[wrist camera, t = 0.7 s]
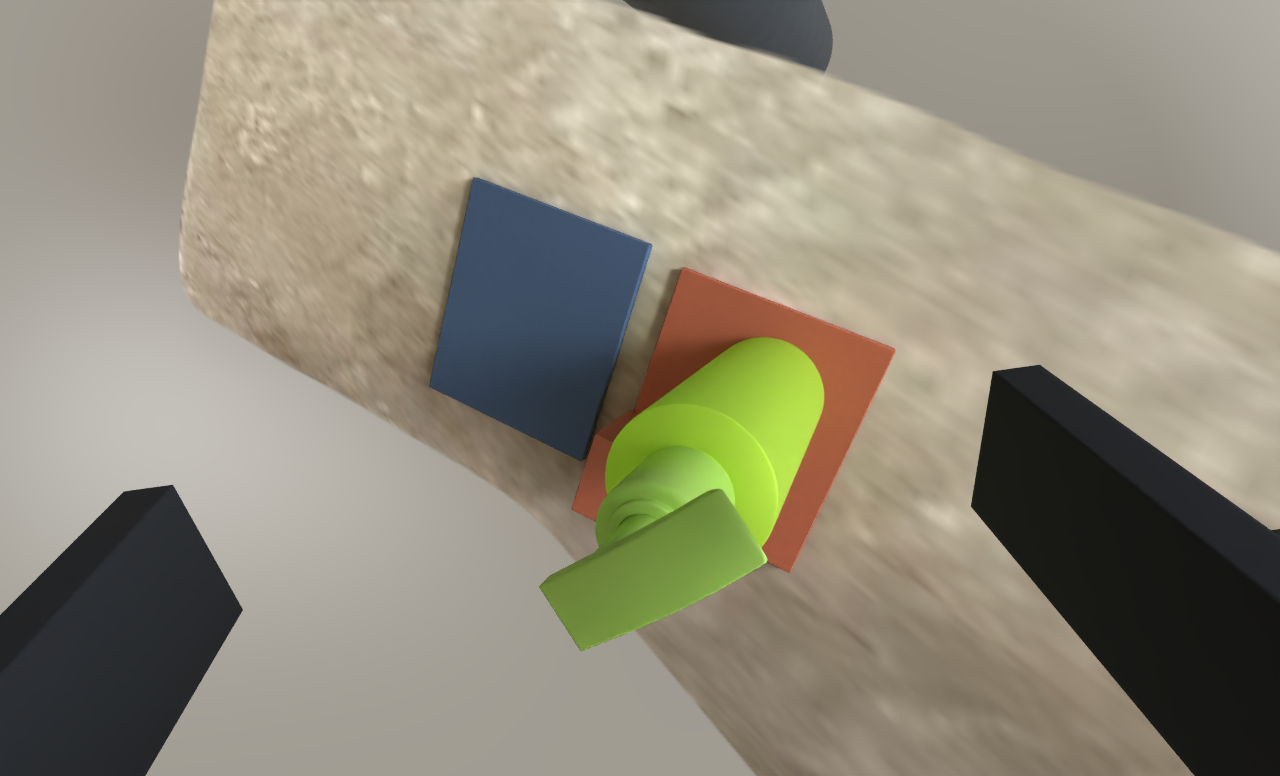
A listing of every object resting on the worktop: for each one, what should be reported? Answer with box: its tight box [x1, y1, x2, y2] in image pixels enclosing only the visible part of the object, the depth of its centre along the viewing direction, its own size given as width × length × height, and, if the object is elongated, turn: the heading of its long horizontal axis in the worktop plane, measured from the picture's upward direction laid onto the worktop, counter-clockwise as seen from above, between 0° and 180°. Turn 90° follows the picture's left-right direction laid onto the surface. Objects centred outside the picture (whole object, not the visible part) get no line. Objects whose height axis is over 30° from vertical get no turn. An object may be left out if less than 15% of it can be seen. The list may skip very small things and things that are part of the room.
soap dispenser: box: [539, 337, 824, 651], centre depth 24 cm, size 6×7×20 cm
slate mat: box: [429, 178, 652, 461], centre depth 37 cm, size 13×11×1 cm
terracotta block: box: [572, 410, 639, 522], centre depth 34 cm, size 4×4×4 cm
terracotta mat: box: [634, 268, 895, 573], centre depth 34 cm, size 13×11×1 cm
